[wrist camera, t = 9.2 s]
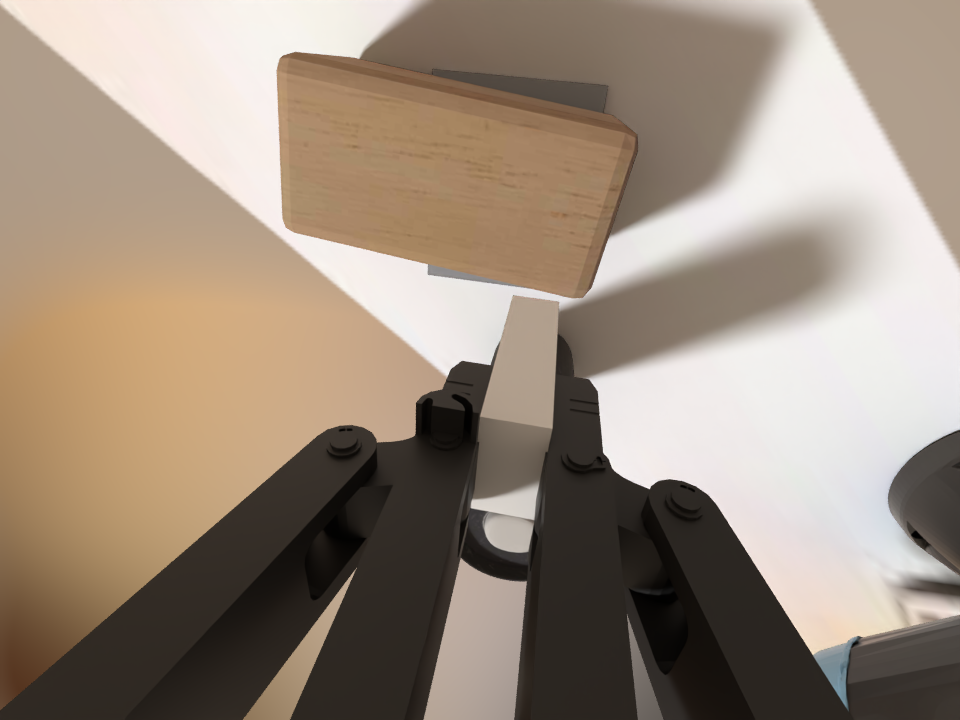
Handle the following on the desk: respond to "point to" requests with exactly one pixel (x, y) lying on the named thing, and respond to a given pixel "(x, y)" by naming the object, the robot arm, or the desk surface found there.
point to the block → (449, 171)
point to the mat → (536, 88)
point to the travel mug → (506, 519)
